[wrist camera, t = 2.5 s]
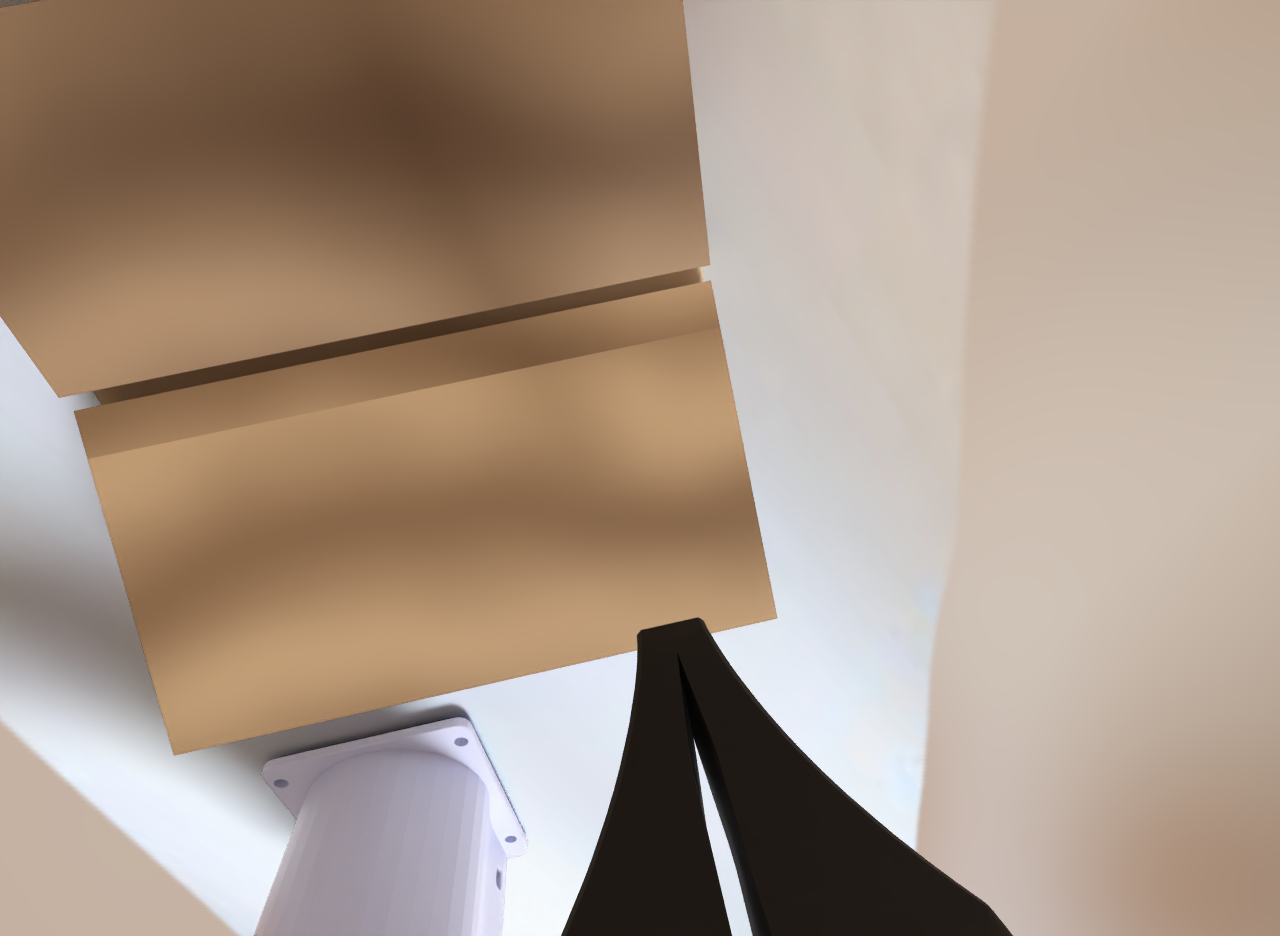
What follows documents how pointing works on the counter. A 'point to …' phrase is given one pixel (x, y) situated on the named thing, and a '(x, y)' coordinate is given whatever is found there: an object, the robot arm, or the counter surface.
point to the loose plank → (430, 514)
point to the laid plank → (330, 176)
